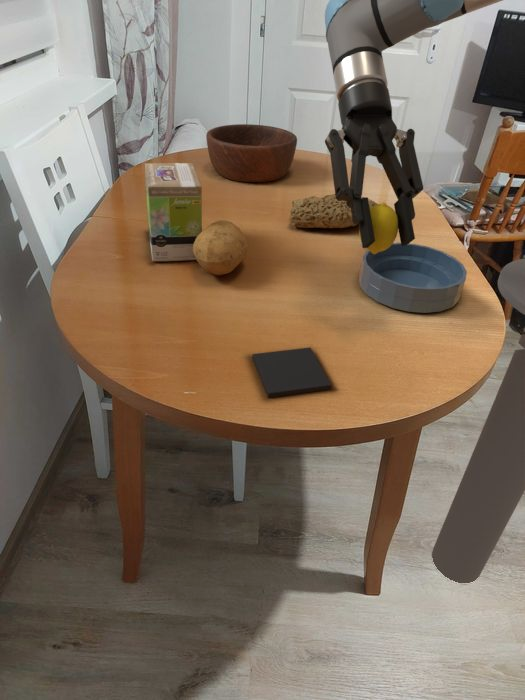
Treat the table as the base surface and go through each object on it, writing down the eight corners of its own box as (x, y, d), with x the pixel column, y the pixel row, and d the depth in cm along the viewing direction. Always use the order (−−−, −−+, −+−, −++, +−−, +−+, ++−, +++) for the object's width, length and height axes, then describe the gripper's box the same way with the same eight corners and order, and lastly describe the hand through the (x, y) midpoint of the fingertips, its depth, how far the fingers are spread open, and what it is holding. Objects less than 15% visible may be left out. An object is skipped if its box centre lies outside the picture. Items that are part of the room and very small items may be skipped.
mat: (310, 351, 78) (310, 347, 78) (331, 389, 71) (331, 384, 71) (252, 358, 76) (252, 353, 76) (268, 397, 69) (268, 393, 69)
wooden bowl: (262, 155, 162) (263, 120, 156) (312, 178, 146) (315, 140, 140) (191, 165, 150) (190, 128, 144) (236, 192, 134) (237, 151, 128)
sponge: (292, 239, 114) (384, 227, 111) (287, 203, 111) (382, 190, 108) (294, 226, 126) (378, 216, 123) (291, 194, 123) (376, 182, 120)
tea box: (204, 260, 101) (202, 185, 92) (151, 263, 99) (145, 186, 90) (195, 230, 113) (193, 160, 104) (148, 231, 111) (142, 161, 102)
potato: (184, 283, 93) (182, 242, 88) (203, 251, 104) (202, 213, 100) (237, 290, 92) (238, 248, 87) (251, 256, 103) (252, 218, 99)
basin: (427, 263, 105) (433, 240, 102) (479, 309, 91) (487, 284, 88) (344, 269, 101) (347, 246, 98) (384, 319, 87) (390, 293, 84)
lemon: (379, 244, 82) (389, 194, 77) (399, 259, 78) (410, 208, 73) (349, 248, 80) (357, 197, 75) (367, 264, 76) (377, 211, 71)
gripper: (406, 110, 83) (432, 248, 80) (296, 110, 79) (319, 256, 76) (431, 79, 76) (460, 230, 73) (311, 77, 72) (337, 237, 68)
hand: (388, 243), depth 74 cm, fingers closed on lemon, 5 cm apart
